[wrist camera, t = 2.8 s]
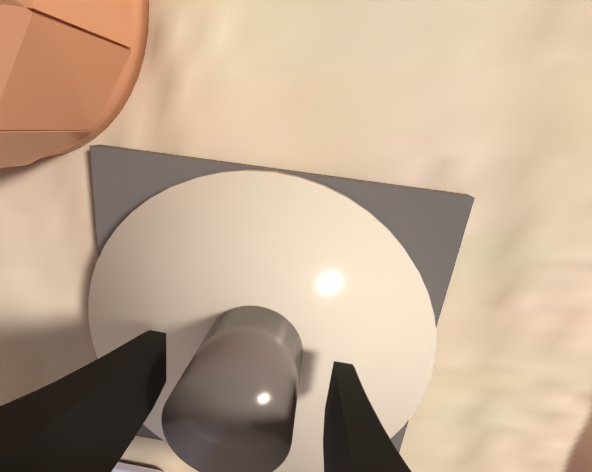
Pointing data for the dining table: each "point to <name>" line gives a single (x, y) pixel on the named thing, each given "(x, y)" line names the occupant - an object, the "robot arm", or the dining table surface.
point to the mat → (372, 195)
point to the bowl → (65, 72)
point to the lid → (263, 315)
